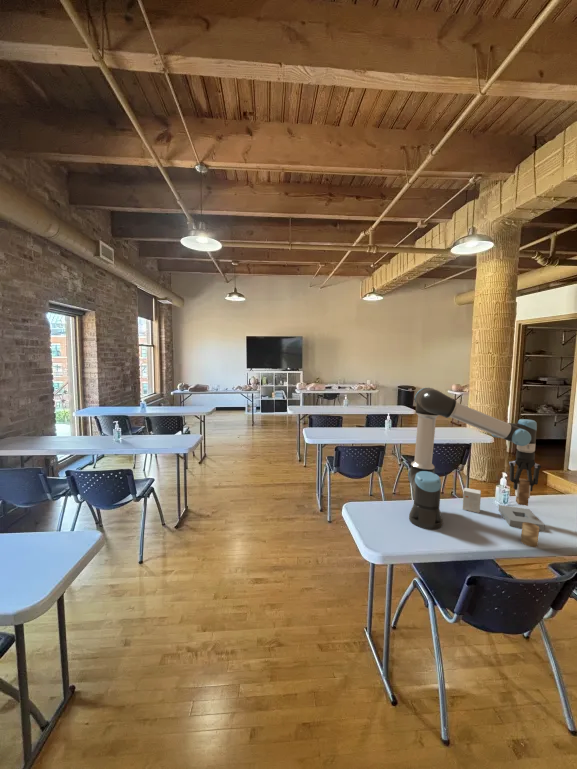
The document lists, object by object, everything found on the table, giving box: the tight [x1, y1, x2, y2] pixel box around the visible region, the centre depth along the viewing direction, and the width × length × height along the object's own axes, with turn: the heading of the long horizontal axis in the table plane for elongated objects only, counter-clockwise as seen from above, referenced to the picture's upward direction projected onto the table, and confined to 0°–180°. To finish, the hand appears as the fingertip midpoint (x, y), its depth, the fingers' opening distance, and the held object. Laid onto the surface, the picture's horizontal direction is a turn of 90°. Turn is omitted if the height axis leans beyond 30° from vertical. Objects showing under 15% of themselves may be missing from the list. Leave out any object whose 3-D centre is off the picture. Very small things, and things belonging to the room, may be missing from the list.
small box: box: [462, 487, 482, 514], centre depth 180 cm, size 8×6×10 cm
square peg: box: [515, 478, 530, 507], centre depth 168 cm, size 4×4×12 cm
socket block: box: [498, 504, 545, 532], centre depth 170 cm, size 14×18×3 cm
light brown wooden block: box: [520, 522, 540, 548], centre depth 148 cm, size 6×6×8 cm
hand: (522, 496), depth 169 cm, fingers closed on square peg, 4 cm apart
